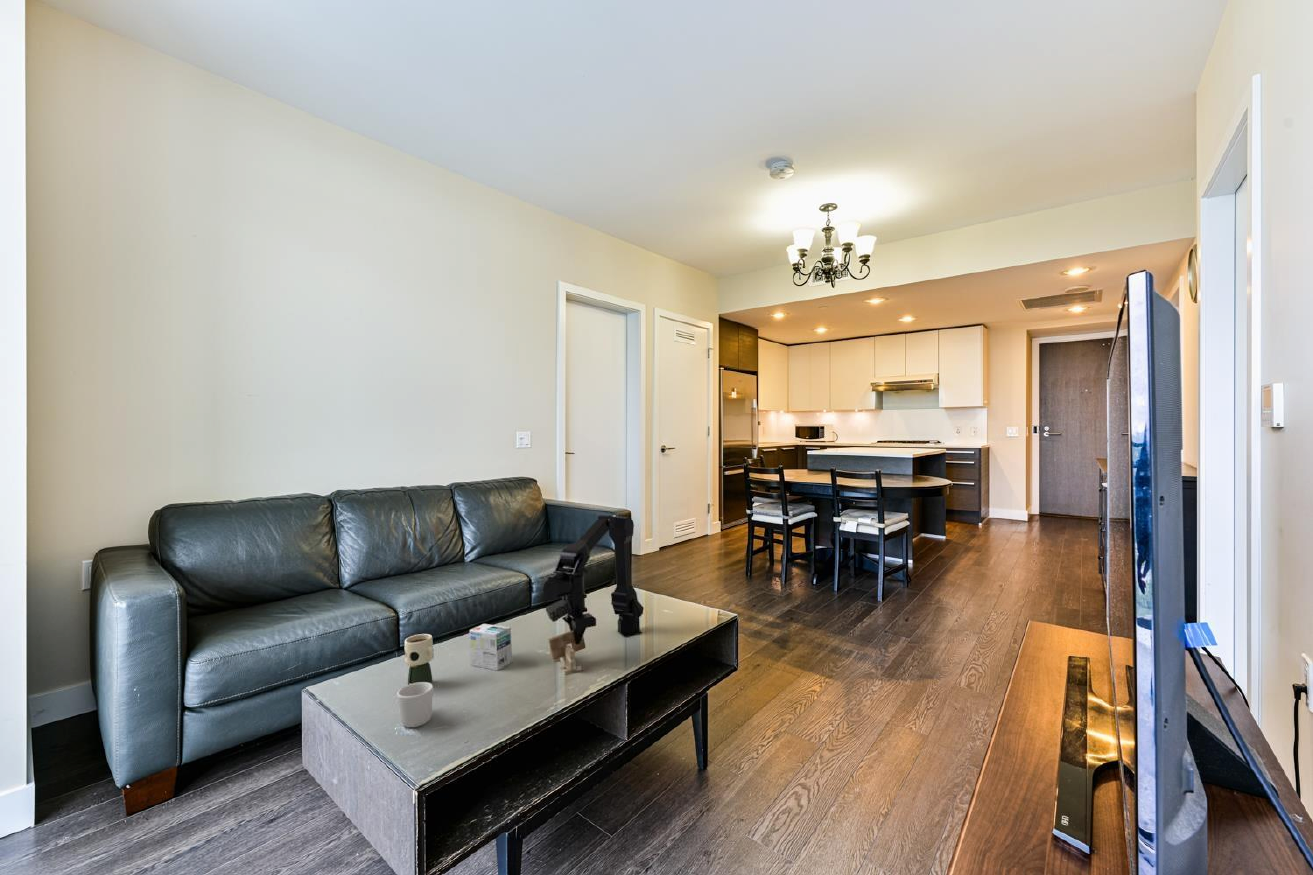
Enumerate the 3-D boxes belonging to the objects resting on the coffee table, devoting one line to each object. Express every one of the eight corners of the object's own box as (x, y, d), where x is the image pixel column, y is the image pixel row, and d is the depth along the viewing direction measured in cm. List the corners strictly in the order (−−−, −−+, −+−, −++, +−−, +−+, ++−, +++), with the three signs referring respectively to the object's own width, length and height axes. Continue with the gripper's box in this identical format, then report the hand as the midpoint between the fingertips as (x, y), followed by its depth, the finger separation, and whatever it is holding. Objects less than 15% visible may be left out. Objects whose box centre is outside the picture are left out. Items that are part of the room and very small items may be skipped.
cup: (409, 709, 138) (408, 677, 138) (442, 707, 139) (441, 675, 139) (392, 732, 128) (391, 698, 128) (428, 729, 128) (426, 695, 128)
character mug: (395, 687, 151) (393, 640, 151) (417, 676, 158) (415, 631, 158) (423, 694, 146) (421, 645, 146) (444, 683, 153) (442, 636, 153)
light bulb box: (513, 662, 166) (511, 626, 166) (497, 671, 160) (496, 634, 160) (485, 657, 170) (484, 622, 170) (469, 665, 164) (468, 629, 164)
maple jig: (568, 656, 169) (567, 636, 169) (581, 670, 158) (580, 649, 158) (552, 659, 166) (551, 639, 166) (564, 674, 156) (564, 653, 156)
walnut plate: (583, 646, 166) (580, 627, 165) (585, 647, 164) (582, 628, 164) (552, 658, 161) (548, 639, 161) (553, 660, 160) (549, 640, 159)
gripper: (539, 587, 168) (541, 638, 168) (558, 603, 152) (560, 660, 152) (573, 582, 173) (575, 631, 174) (596, 596, 157) (598, 651, 157)
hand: (576, 643), depth 164 cm, fingers closed on walnut plate, 1 cm apart
